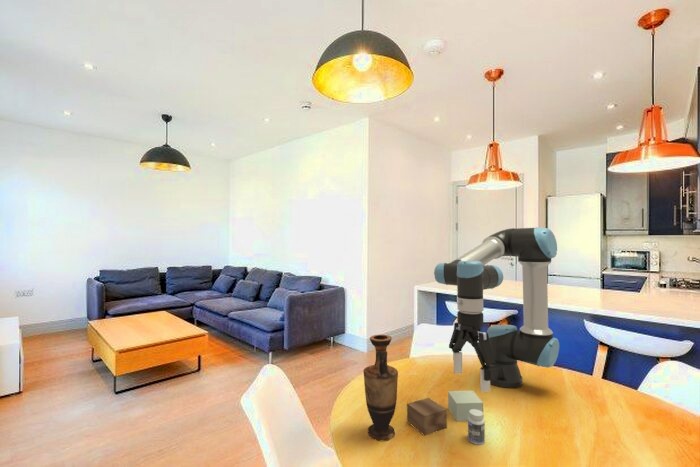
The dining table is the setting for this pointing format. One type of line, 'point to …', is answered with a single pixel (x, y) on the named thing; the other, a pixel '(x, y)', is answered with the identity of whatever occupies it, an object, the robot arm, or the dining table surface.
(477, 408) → the sage block
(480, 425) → the pill bottle
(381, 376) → the vase
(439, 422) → the walnut block
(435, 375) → the dining table surface
